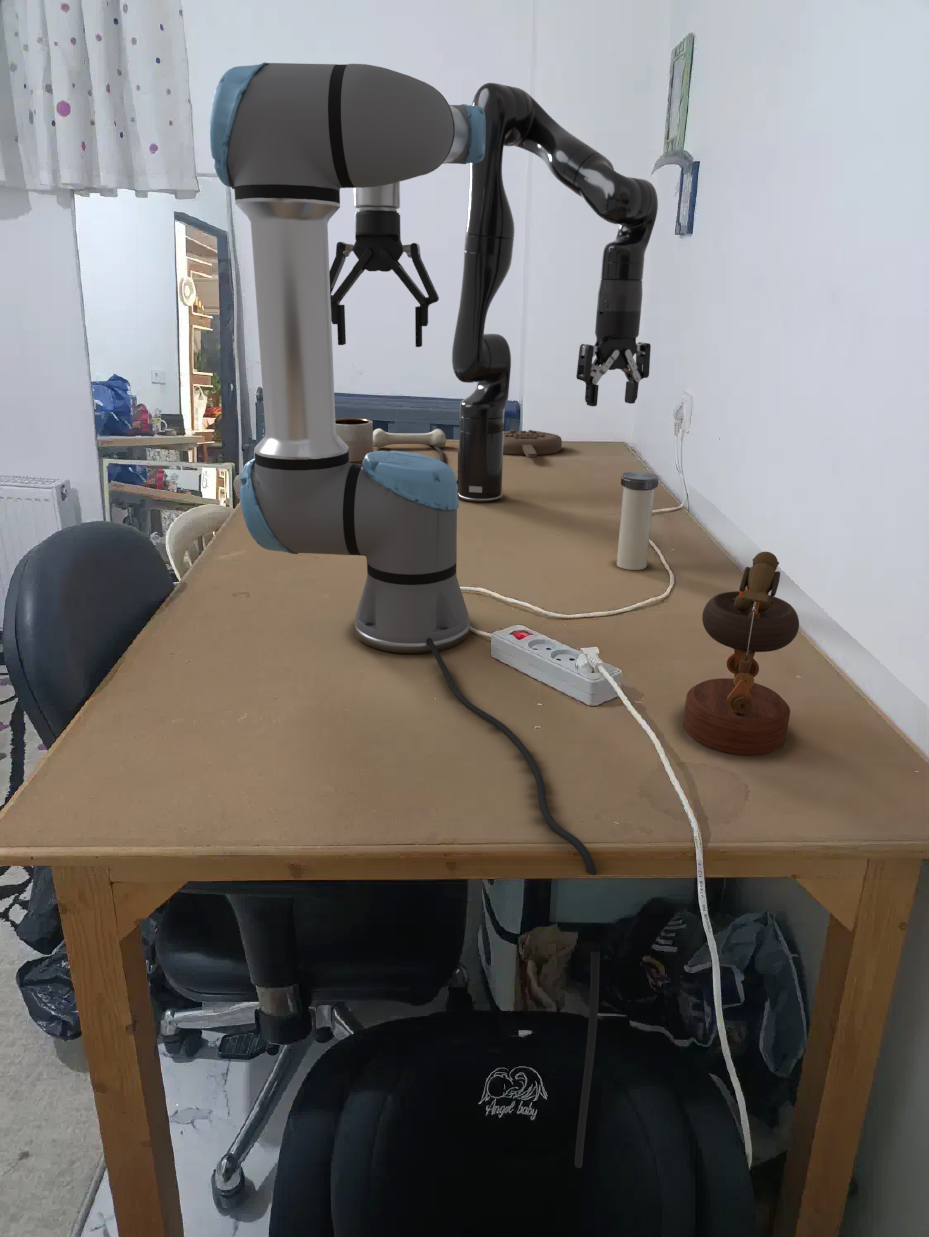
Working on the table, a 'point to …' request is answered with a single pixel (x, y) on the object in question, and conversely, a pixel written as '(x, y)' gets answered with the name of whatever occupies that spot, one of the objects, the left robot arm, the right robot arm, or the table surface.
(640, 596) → the table surface
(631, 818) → the table surface
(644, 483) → the lid
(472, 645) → the table surface
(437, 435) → the dog toy
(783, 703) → the wooden sculpture
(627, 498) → the bottle
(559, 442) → the ice cream bar
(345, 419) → the planter
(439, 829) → the table surface
